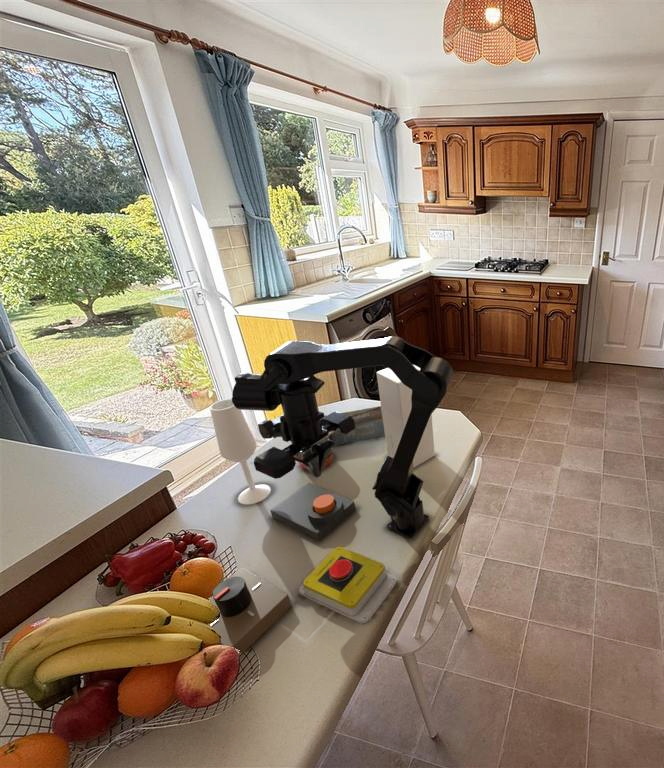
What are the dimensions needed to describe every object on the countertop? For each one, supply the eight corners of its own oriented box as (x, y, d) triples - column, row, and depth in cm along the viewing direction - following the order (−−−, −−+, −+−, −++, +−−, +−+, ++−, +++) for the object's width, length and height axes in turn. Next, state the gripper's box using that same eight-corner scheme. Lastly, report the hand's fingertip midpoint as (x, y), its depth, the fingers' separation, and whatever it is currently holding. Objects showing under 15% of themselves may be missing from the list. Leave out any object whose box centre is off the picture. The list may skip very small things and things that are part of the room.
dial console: (292, 605, 70) (287, 593, 68) (235, 661, 62) (229, 648, 60) (246, 578, 74) (241, 566, 73) (187, 626, 66) (181, 614, 65)
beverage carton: (321, 433, 116) (317, 413, 113) (390, 421, 122) (388, 402, 119) (320, 448, 109) (316, 428, 106) (393, 435, 116) (391, 416, 113)
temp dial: (240, 588, 69) (232, 571, 67) (257, 598, 68) (250, 581, 66) (214, 610, 66) (205, 592, 64) (231, 621, 64) (223, 604, 62)
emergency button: (331, 537, 78) (396, 563, 73) (335, 553, 80) (399, 579, 75) (291, 576, 70) (361, 608, 65) (297, 593, 72) (365, 625, 67)
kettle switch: (339, 504, 87) (337, 497, 86) (324, 516, 83) (322, 510, 83) (325, 498, 88) (324, 491, 87) (310, 510, 85) (308, 503, 84)
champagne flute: (261, 504, 91) (230, 413, 80) (231, 504, 90) (195, 412, 80) (276, 484, 97) (249, 396, 86) (248, 484, 96) (217, 396, 86)
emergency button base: (357, 509, 90) (354, 496, 88) (320, 542, 82) (317, 527, 80) (310, 489, 95) (307, 476, 94) (272, 517, 87) (267, 503, 86)
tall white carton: (387, 457, 107) (375, 371, 96) (414, 442, 113) (406, 360, 102) (408, 471, 102) (398, 383, 91) (435, 455, 108) (428, 371, 97)
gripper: (311, 380, 85) (325, 441, 92) (222, 423, 70) (246, 491, 77) (351, 392, 81) (362, 455, 88) (265, 440, 66) (287, 511, 73)
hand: (317, 476), depth 82 cm, fingers closed
